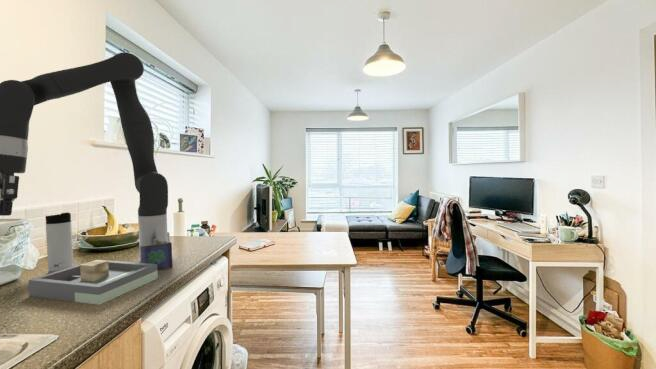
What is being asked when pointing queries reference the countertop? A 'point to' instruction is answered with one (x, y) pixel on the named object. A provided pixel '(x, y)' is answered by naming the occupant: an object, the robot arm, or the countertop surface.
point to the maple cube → (94, 270)
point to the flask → (157, 254)
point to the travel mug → (59, 242)
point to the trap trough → (93, 283)
